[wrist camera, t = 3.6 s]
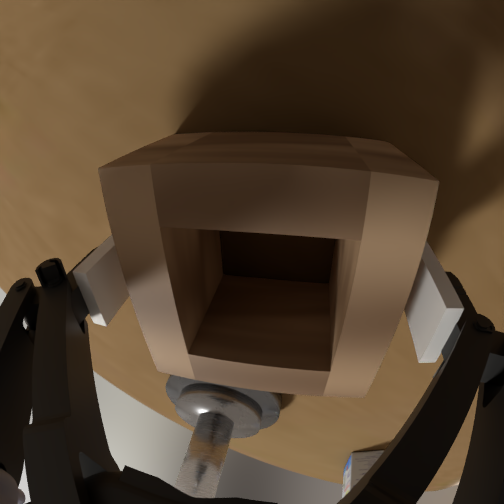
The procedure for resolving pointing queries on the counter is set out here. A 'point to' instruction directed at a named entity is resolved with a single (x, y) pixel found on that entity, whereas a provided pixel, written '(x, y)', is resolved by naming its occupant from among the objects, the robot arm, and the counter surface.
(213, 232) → the light wood square frame
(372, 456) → the medicine box
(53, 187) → the counter surface
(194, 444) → the post stand
